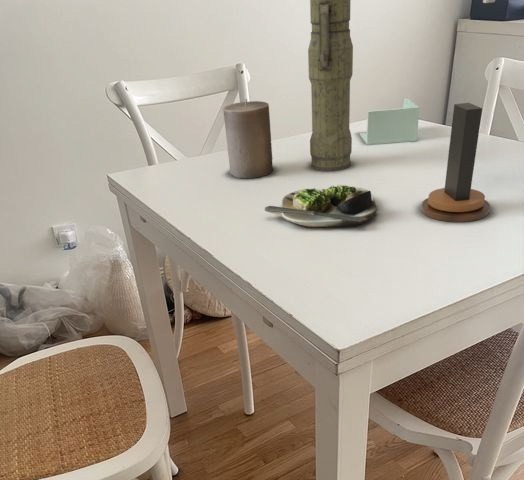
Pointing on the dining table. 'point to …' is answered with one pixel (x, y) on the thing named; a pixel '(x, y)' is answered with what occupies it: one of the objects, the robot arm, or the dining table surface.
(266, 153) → the pillar candle
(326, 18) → the thermos
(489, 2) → the robot arm
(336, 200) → the salad plate
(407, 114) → the right angle wall
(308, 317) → the dining table surface
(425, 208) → the swivel stand
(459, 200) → the slab on wooden base
